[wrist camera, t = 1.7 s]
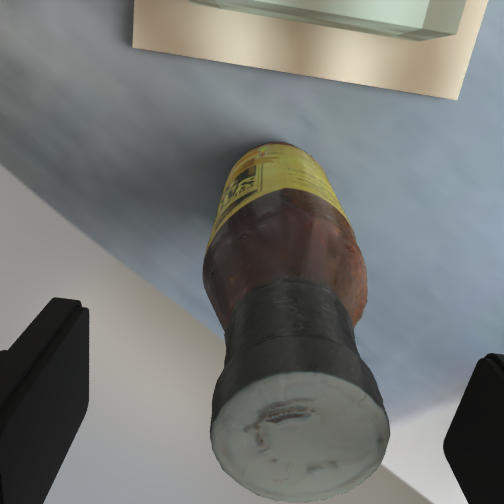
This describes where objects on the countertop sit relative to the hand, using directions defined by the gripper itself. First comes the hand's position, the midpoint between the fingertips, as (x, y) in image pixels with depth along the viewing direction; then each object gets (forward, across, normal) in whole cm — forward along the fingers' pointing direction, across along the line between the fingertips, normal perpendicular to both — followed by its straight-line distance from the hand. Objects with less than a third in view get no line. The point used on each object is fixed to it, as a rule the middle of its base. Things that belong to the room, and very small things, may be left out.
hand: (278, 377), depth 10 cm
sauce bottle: (+19, -1, 0) cm, 19 cm away
